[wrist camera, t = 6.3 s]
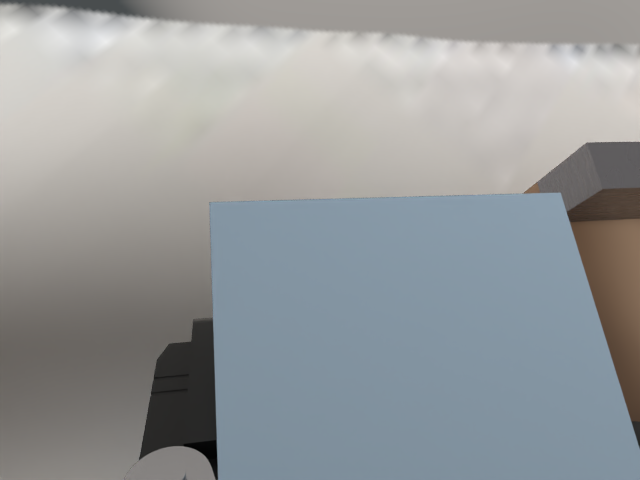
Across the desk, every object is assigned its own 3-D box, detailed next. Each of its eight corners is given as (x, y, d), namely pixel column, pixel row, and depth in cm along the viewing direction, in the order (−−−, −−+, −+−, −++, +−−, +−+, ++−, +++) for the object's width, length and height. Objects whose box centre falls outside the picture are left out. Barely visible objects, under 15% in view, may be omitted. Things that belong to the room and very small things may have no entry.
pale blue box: (234, 526, 14) (231, 899, 3) (227, 355, 16) (209, 202, 5) (363, 505, 15) (732, 747, 4) (344, 345, 17) (560, 192, 6)
